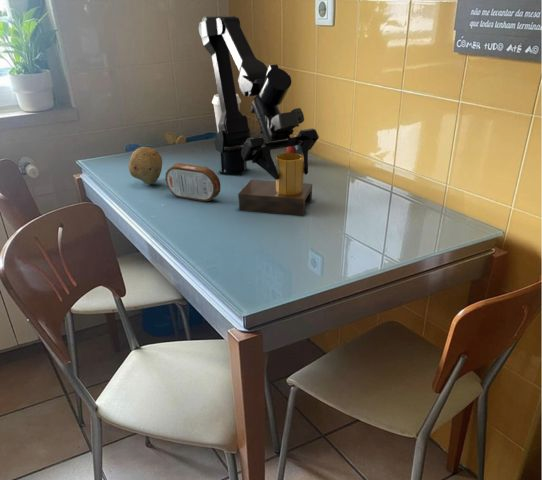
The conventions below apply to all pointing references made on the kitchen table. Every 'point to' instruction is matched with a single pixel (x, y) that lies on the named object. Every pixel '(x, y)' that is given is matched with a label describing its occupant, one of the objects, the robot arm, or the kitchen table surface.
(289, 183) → the cup
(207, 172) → the tin
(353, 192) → the kitchen table surface
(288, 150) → the onion
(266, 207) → the brown wooden board
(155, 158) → the potato
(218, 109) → the coffee cup
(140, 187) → the kitchen table surface
